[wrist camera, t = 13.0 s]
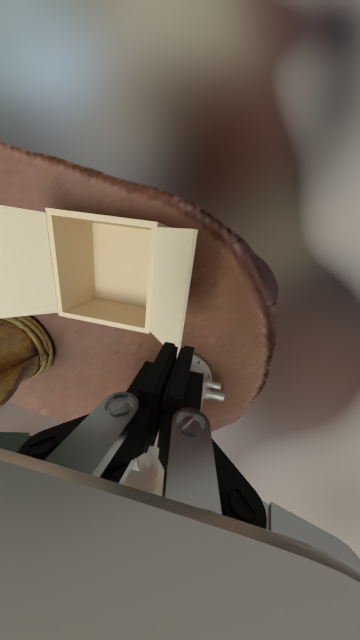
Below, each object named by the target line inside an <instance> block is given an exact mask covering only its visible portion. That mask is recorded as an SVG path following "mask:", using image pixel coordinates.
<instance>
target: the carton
mask: <svg viewBox="0 0 360 640" xmlns="http://www.w3.org/2000/svg"><path fill="white" fill-rule="evenodd" d="M45 210H46V218H47V226H48V234H49V242H50V250H51V258H52V266H53V274H54V282H55V290H56V298H57V306H58V314H59V316H63V317H68V318H73V319H78V320H83V321H88V322H93V323H98V324H103V325H108V326H113V327H118V328H123V329H128V330H133V331H138V332H143V333H148V334H150V331H149V329H150V316H151V302H152V288H153V275H154V261H155V247H156V233H157V227H165V228H171V227H169V226H166V225H164V224H161V223H159V222H154V221H146V220H138V219H130V218H122V217H115V216H107V215H99V214H91V213H83V212H75V211H68V210H60V209H52V208H45Z"/></svg>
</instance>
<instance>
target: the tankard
mask: <svg viewBox="0 0 360 640" xmlns="http://www.w3.org/2000/svg"><path fill="white" fill-rule="evenodd" d="M52 363H53V349H52V341H51V339H50V338H49V336H48V334H47V332H46V331H45V330H44V328H43V327H42V326H41V325H40V324H39V323H38V322H37V321H36V320H35V319H33V318H32V317H30V316H20V317H10V318H0V407H2V406H3V405H4V404H5V403H6V402H7V401H8V400H9V399H10V398H11V397H12V395H13V394H14V393H15V391H16V390H17V388H18V386H19V384H20V383H21V382H23V381H25V380H26V379H32V378H34V377H36V376H38V375H39V374H41V373H43V372H45V371H47V370H48V369H49V368H50V367H51V366H52Z"/></svg>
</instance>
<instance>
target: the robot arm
mask: <svg viewBox="0 0 360 640" xmlns="http://www.w3.org/2000/svg"><path fill="white" fill-rule="evenodd" d="M177 351H178V347H176V346H175V344H174V343H169V342H165V343H164V345H163V347H162V348H161V350H160V352H159V354H158V356H157V357H156V359H155V361H154V363H153V362H148V361H146V362H145V363H144V364H143V366H142V368H141V369H140V371H139V372H138V374H137V376H136V377H135V379H134V380H133V382H132V384H131V385H130V387H129V388H128V390H127V391H126V392H116V393H113V394H111V395H109V396H108V397H106V398H105V399H104V400H103V401H102V402H101V403H100V404H99V405H98V406H97V407H96V408H95V409H94V410H93V411H92V412H91V413H90V414H88V415H85V416H82V417H79V418H77V419H74V420H71V421H68V422H66V423H63V424H60V425H58V426H54V427H52V428H49V429H46V430H43V431H41V432H39V433H37V434H35V435H33V436H30V433H24V432H23V433H22V432H0V640H360V559H359V557H358V556H357V555H356V554H355V553H354V552H353V551H352V549H351V548H350V547H349V546H348V545H346V544H345V543H344V542H342V541H341V540H340V539H338V538H336V537H335V536H333V535H331V534H329V533H327V532H326V531H324V530H322V529H320V528H318V527H316V526H315V525H313V524H311V523H309V522H307V521H305V520H303V519H302V518H300V517H298V516H296V515H294V514H293V513H291V512H289V511H287V510H285V509H283V508H282V507H280V506H278V505H276V504H274V503H272V502H271V503H270V505H269V504H267V503H265V502H264V501H262V500H261V498H260V497H259V495H258V494H257V492H256V491H255V490H254V488H253V487H252V486H251V485H250V484H249V482H248V481H247V480H246V479H245V478H244V476H243V475H242V474H241V473H240V472H239V471H238V469H237V468H236V467H235V466H234V464H233V463H232V462H231V461H230V460H229V458H228V457H227V456H226V455H225V454H224V452H223V451H222V450H221V449H220V448H219V447H218V445H217V444H216V443H215V442H214V440H213V439H212V437H211V429H210V423H209V420H208V418H207V417H206V415H205V414H203V413H202V403H203V400H204V399H208V398H212V399H215V400H218V401H222V402H223V401H224V396H225V393H224V392H221V391H214V390H210V387H211V388H214V389H219V390H220V389H221V383H218V382H212V373H211V370H210V368H209V366H208V364H207V363H206V362H205V361H204V360H203V359H202V358H201V357H199V356H198V355H196V354H193V353H194V347H189V346H185V347H184V348H180V351H179V354H178V356H177ZM135 458H136V459H137V464H138V467H139V471H135V470H132V469H131V468H132V466H133V464H134V461H135Z"/></svg>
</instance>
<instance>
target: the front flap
mask: <svg viewBox="0 0 360 640" xmlns="http://www.w3.org/2000/svg"><path fill="white" fill-rule="evenodd" d="M197 234H198V229H187V228H165V227H157V233H156V247H155V261H154V275H153V288H152V302H151V316H150V329H149V331H150V332H151V333H152V334H153V335H154V336H155V337H156V338H157V339H158V340H159V341H160V342H161V343H162V344H163V345H164V343H165V342H169V343H174V344H175V346H176V347H178V351H177V356H178V354H179V351H180V348H181V342H182V335H183V328H184V322H185V315H186V308H187V301H188V295H189V288H190V281H191V274H192V267H193V261H194V254H195V247H196V240H197Z"/></svg>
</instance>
